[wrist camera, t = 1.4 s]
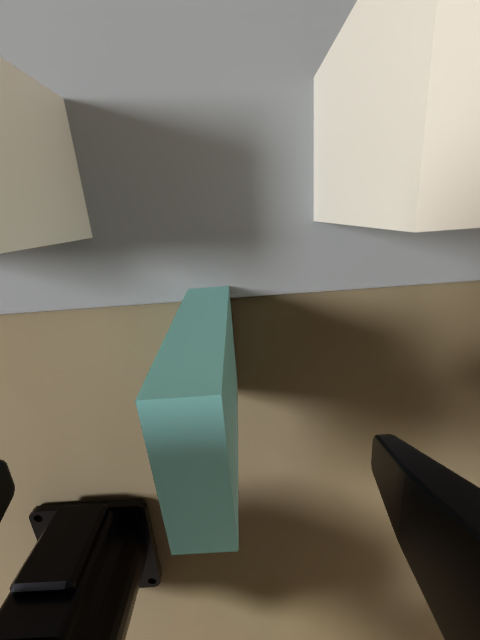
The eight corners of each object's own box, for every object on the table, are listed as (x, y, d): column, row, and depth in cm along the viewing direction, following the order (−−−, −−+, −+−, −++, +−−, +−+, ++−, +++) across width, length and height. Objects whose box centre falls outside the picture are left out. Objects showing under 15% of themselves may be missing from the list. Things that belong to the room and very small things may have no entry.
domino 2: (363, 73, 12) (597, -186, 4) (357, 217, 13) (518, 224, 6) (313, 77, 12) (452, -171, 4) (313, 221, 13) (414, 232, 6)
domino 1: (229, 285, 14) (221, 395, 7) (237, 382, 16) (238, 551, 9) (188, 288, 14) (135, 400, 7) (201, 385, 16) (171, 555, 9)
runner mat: (591, 270, 14) (598, 271, 14) (-220, 328, 15) (-229, 330, 15) (680, -55, 11) (692, -62, 11) (-381, 38, 11) (-398, 33, 11)
